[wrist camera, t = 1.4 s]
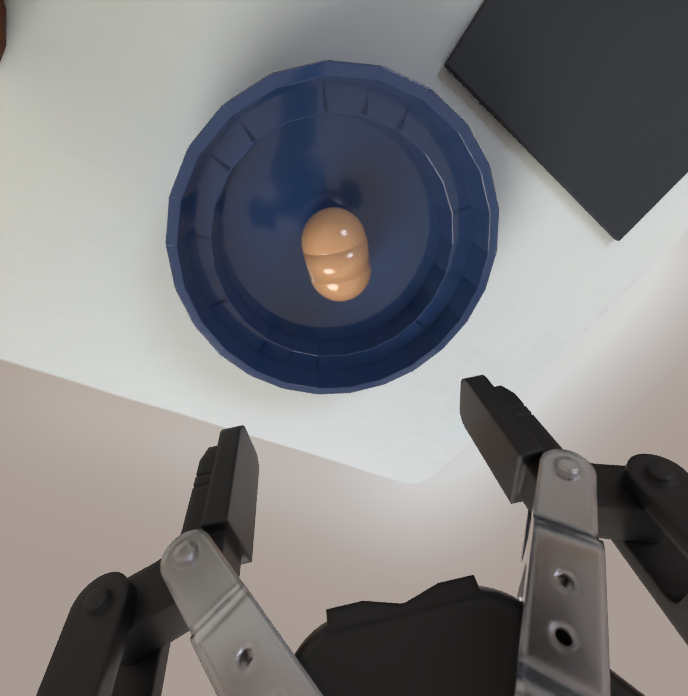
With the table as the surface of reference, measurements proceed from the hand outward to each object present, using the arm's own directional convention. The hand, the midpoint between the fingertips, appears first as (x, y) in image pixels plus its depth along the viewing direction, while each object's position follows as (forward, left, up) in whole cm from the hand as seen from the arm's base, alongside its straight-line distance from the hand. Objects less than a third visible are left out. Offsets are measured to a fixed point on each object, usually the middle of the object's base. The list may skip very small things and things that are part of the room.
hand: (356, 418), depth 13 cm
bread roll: (-1, +1, -16) cm, 16 cm away
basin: (-1, +1, -17) cm, 17 cm away
